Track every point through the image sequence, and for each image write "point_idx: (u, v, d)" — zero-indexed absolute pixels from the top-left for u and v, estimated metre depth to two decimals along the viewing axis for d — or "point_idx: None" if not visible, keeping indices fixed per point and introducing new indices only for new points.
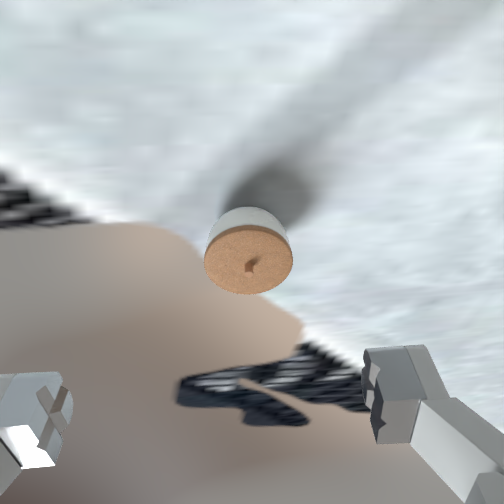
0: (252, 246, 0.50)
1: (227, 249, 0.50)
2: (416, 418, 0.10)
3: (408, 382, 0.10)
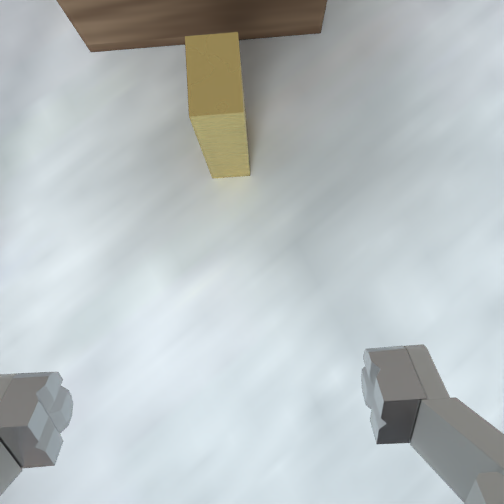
0: None
1: None
2: (416, 418, 0.10)
3: (408, 382, 0.10)
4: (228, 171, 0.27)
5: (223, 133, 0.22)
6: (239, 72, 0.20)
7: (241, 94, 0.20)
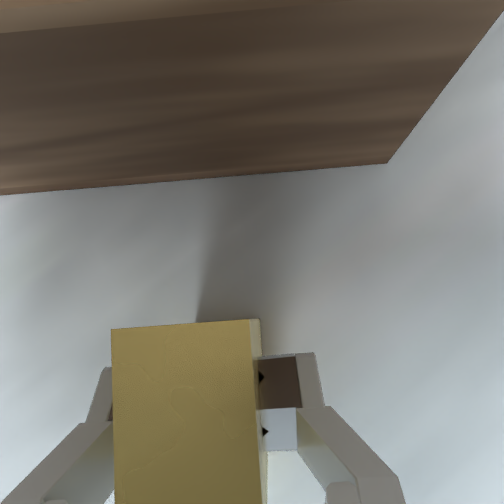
0: None
1: None
2: (297, 426, 0.10)
3: (288, 390, 0.10)
4: None
5: None
6: (253, 439, 0.07)
7: None
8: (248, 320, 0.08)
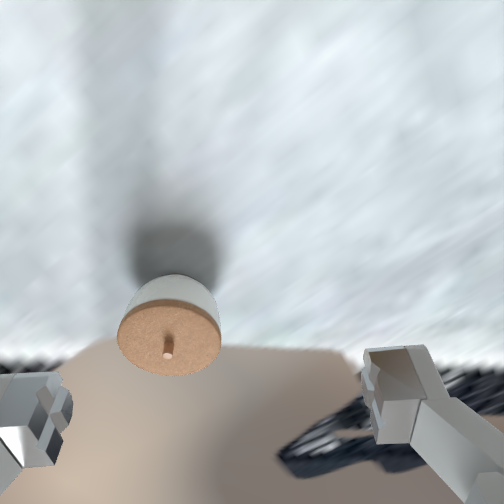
0: (151, 327, 0.43)
1: (133, 341, 0.44)
2: (416, 419, 0.10)
3: (408, 382, 0.10)
4: None
5: None
6: None
7: None
8: None
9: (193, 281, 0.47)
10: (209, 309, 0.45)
